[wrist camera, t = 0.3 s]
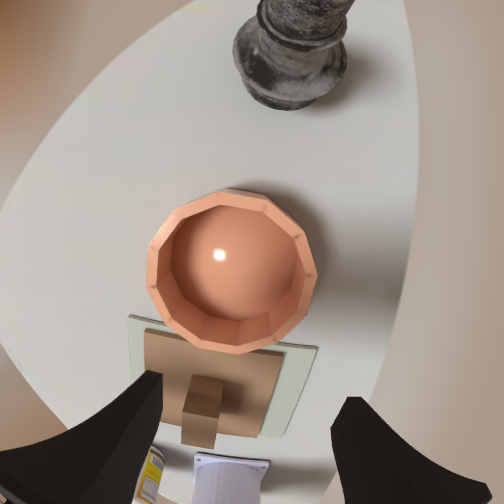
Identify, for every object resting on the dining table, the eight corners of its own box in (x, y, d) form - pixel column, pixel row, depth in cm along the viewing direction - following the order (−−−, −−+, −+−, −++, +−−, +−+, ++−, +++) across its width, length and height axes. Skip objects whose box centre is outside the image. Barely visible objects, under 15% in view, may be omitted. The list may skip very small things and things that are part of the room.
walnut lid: (256, 433, 22) (257, 472, 18) (149, 414, 22) (136, 450, 17) (282, 351, 20) (288, 395, 15) (146, 327, 19) (123, 364, 15)
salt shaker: (336, 48, 14) (423, -60, 3) (320, 126, 16) (432, 59, 4) (248, 27, 14) (242, -110, 2) (226, 103, 16) (178, -8, 4)
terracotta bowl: (286, 331, 20) (292, 361, 16) (161, 310, 19) (145, 336, 16) (317, 205, 17) (332, 213, 14) (173, 180, 17) (154, 182, 13)
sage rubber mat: (281, 434, 23) (281, 437, 23) (136, 410, 22) (135, 413, 22) (316, 346, 20) (317, 349, 20) (129, 314, 19) (127, 317, 19)
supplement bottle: (115, 447, 25) (89, 510, 15) (128, 430, 23) (99, 504, 14) (155, 467, 26) (138, 532, 16) (174, 453, 24) (156, 528, 14)
